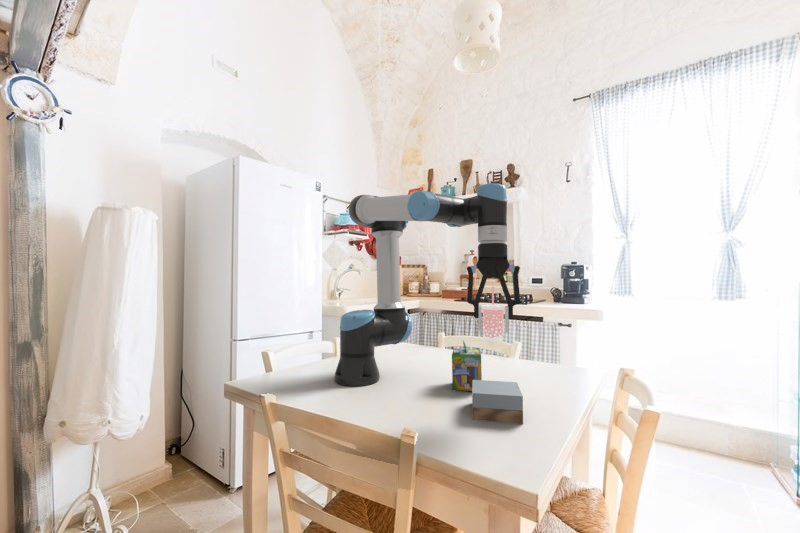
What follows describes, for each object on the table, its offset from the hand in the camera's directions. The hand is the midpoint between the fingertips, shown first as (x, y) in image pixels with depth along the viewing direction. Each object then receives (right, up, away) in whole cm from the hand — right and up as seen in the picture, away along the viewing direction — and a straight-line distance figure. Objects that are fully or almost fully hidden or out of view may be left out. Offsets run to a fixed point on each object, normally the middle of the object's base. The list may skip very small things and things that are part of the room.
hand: (493, 330), depth 94 cm
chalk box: (-3, -22, +21) cm, 30 cm away
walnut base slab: (+1, -22, 0) cm, 22 cm away
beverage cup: (0, -3, 0) cm, 3 cm away
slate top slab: (+1, -18, 0) cm, 18 cm away
